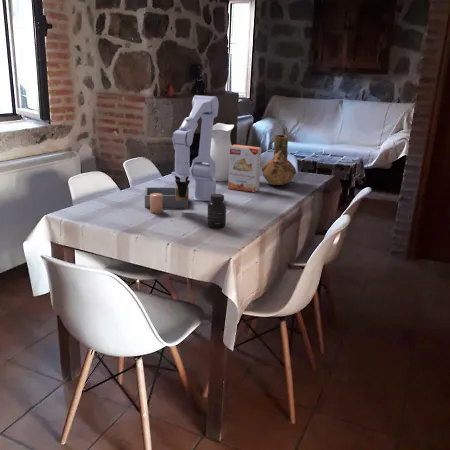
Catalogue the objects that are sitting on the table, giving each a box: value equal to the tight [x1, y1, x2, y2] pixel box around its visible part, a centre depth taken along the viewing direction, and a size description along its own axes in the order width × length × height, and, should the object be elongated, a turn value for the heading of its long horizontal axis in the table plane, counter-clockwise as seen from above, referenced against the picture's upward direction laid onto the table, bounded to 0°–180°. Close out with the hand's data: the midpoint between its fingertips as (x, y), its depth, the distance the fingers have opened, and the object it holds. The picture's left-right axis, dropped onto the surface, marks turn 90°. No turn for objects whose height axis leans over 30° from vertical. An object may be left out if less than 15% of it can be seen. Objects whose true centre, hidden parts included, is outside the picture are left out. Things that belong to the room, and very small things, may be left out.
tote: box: [144, 186, 189, 209], centre depth 203 cm, size 18×14×5 cm
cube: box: [174, 184, 190, 202], centre depth 191 cm, size 5×5×5 cm
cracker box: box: [227, 144, 262, 193], centre depth 227 cm, size 14×6×21 cm, turn 68°
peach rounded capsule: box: [149, 193, 164, 214], centre depth 191 cm, size 5×5×7 cm
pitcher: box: [201, 122, 235, 182], centre depth 242 cm, size 24×17×28 cm
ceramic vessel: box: [261, 134, 297, 186], centre depth 238 cm, size 17×26×25 cm, turn 171°
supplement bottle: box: [206, 193, 227, 230], centre depth 176 cm, size 7×7×12 cm
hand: (181, 195), depth 191 cm, fingers closed on cube, 5 cm apart
